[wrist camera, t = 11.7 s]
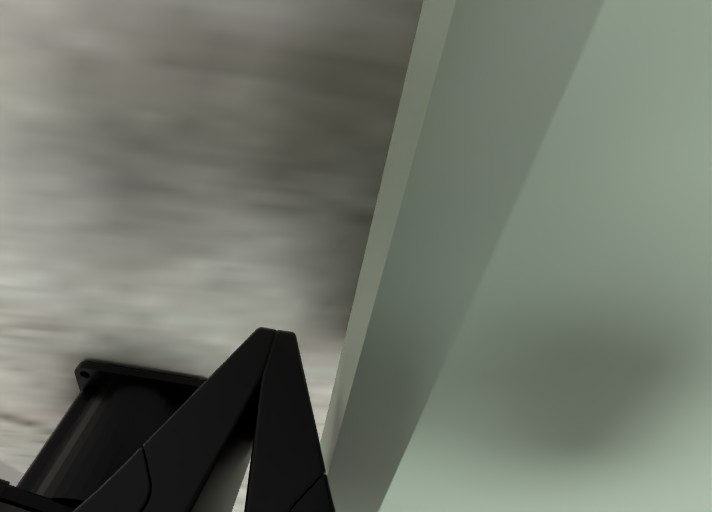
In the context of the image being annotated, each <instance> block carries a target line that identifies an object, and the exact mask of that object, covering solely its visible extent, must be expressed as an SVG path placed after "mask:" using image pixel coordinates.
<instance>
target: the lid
mask: <svg viewBox="0 0 712 512" xmlns="http://www.w3.org/2000/svg"><path fill="white" fill-rule="evenodd" d="M320 447H321V451H322V456H323V460H324V465H325V469H326V473H325V474H326V475H327V477H328V482H329V486H330V491H331V495H332V499H333V503H334V507H335V511H336V512H712V0H424V1H423V5H422V9H421V13H420V18H419V22H418V26H417V31H416V35H415V39H414V43H413V48H412V52H411V56H410V61H409V65H408V69H407V74H406V78H405V82H404V86H403V91H402V95H401V99H400V104H399V108H398V112H397V116H396V121H395V125H394V129H393V134H392V138H391V142H390V147H389V151H388V155H387V159H386V164H385V168H384V172H383V177H382V181H381V185H380V190H379V194H378V198H377V202H376V207H375V211H374V215H373V220H372V224H371V228H370V232H369V237H368V241H367V245H366V250H365V254H364V258H363V263H362V267H361V271H360V275H359V280H358V284H357V288H356V293H355V297H354V301H353V305H352V310H351V314H350V318H349V323H348V327H347V331H346V336H345V340H344V344H343V348H342V353H341V357H340V361H339V366H338V370H337V374H336V378H335V383H334V387H333V391H332V396H331V400H330V404H329V409H328V413H327V417H326V421H325V426H324V430H323V434H322V439H321V443H320Z"/></svg>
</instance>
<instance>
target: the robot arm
mask: <svg viewBox="0 0 712 512" xmlns="http://www.w3.org/2000/svg"><path fill="white" fill-rule="evenodd" d="M75 376H76V379H77V382H78V386H79V389H80V393H79V395H78V396H77V398H76V399H75V401H74V402H73V404H72V405H71V407H70V408H69V409H68V411H67V412H66V414H65V415H64V417H63V418H62V420H61V421H60V423H59V424H58V426H57V427H56V429H55V430H54V432H53V433H52V435H51V436H50V437H49V439H48V440H47V442H46V443H45V445H44V446H43V448H42V449H41V451H40V452H39V454H38V455H37V457H36V458H35V460H34V461H33V463H32V464H31V465H30V467H29V468H28V470H27V471H26V473H25V474H24V476H23V477H22V479H21V480H20V482H19V483H18V485H17V486H16V487H14V486H11V485H9V483H10V482H8V481H5V480H2V479H0V512H232V509H233V506H234V503H235V500H236V498H237V495H238V492H239V489H240V486H241V483H242V480H243V478H244V475H245V472H246V469H247V466H248V463H249V461H250V458H251V462H250V470H249V478H248V486H247V494H246V502H245V510H244V512H336V511H335V507H334V503H333V499H332V495H331V491H330V486H329V482H328V477H327V475H326V474H325V473H326V469H325V465H324V460H323V456H322V451H321V447H320V442H319V438H318V433H317V429H316V424H315V420H314V415H313V411H312V406H311V402H310V397H309V392H308V388H307V383H306V379H305V374H304V370H303V365H302V361H301V356H300V352H299V347H298V343H297V338H296V335H295V333H294V332H289V331H282V330H278V331H277V330H275V329H270V328H263V327H260V328H258V329H256V330H255V331H254V332H253V333H252V334H251V335H250V336H249V337H248V338H247V339H246V341H245V342H244V343H243V344H242V345H241V346H240V347H239V348H238V349H237V350H236V351H235V352H234V353H233V354H232V355H231V356H230V357H229V358H228V359H227V360H226V361H225V362H224V363H223V364H222V365H221V366H220V367H219V368H218V369H217V370H216V371H215V372H214V373H213V374H212V375H211V376H210V377H209V378H208V379H207V380H206V381H203V380H200V379H194V378H187V377H181V376H175V375H168V374H162V373H156V372H150V371H143V370H137V369H131V368H125V367H118V366H112V365H106V364H100V363H93V362H85V361H84V362H81V363H80V364H79V365H78V367H77V368H76V369H75Z"/></svg>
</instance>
